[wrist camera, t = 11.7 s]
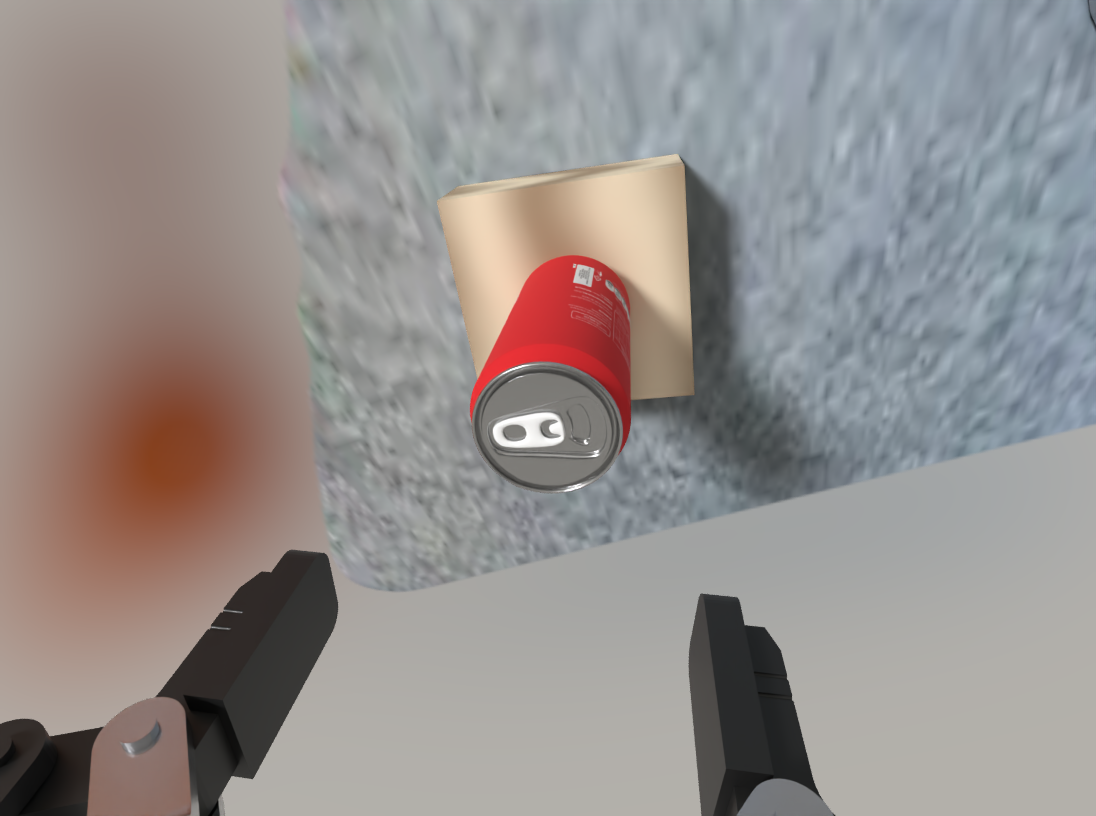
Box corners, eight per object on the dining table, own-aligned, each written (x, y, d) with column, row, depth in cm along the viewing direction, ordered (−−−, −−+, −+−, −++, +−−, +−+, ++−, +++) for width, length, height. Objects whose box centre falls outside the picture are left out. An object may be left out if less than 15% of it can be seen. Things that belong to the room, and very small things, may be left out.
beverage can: (636, 345, 30) (641, 493, 19) (534, 358, 31) (486, 506, 20) (622, 239, 27) (618, 344, 17) (511, 258, 28) (443, 367, 18)
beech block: (677, 154, 29) (684, 165, 26) (687, 361, 34) (694, 394, 31) (458, 186, 31) (436, 200, 28) (498, 378, 36) (485, 411, 33)
